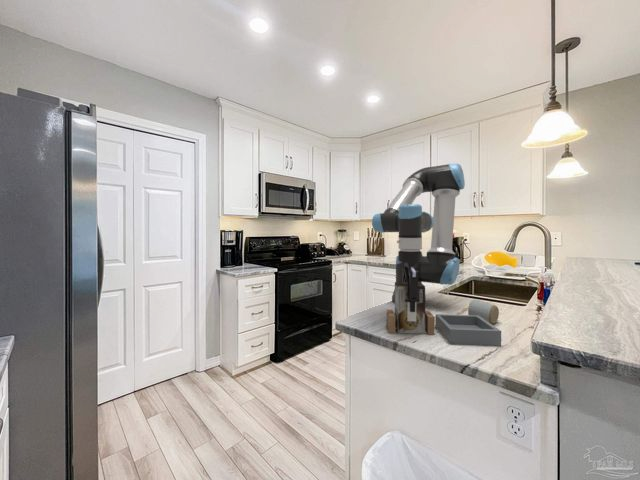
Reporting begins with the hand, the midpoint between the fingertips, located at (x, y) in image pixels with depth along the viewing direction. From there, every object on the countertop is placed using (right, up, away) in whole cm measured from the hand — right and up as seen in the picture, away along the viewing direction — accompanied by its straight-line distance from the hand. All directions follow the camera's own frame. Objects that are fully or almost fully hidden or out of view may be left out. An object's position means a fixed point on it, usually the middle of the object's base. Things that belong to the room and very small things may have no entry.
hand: (409, 317), depth 93 cm
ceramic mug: (+31, -4, +9) cm, 33 cm away
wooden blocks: (0, -4, 0) cm, 4 cm away
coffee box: (0, -5, 0) cm, 5 cm away
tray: (+17, -5, -5) cm, 18 cm away
